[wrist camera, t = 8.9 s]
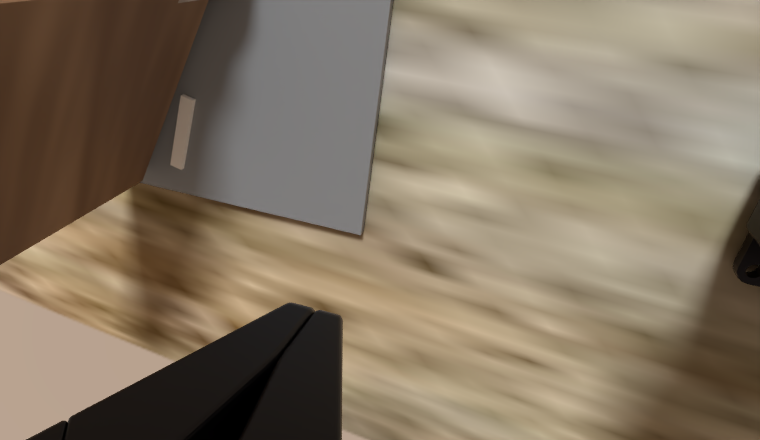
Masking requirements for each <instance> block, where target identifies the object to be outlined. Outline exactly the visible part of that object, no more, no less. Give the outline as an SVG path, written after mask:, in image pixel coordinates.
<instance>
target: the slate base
mask: <svg viewBox="0 0 760 440" xmlns="http://www.w3.org/2000/svg"><path fill="white" fill-rule="evenodd" d="M392 8H393V0H208V3H207V6H206V9H205V11H204V14H203V17H202V19H201V22H200V25H199V28H198V30H197V33H196V36H195V39H194V41H193V44H192V47H191V50H190V52H189V55H188V58H187V61H186V63H185V66H184V69H183V71H182V74H181V77H180V80H179V82H178V85H177V88H176V91H175V93H174V96H173V99H172V102H171V104H170V107H169V110H168V113H167V115H166V118H165V121H164V124H163V126H162V129H161V132H160V134H159V137H158V140H157V143H156V145H155V148H154V151H153V154H152V156H151V159H150V162H149V165H148V167H147V170H146V173H145V176H144V178H143V181H141V182H140V183H144V184H148V185H152V186H156V187H160V188H165V189H169V190H173V191H177V192H181V193H186V194H190V195H194V196H198V197H202V198H207V199H211V200H215V201H219V202H223V203H228V204H232V205H236V206H240V207H244V208H249V209H253V210H257V211H261V212H265V213H270V214H274V215H278V216H282V217H286V218H290V219H295V220H299V221H303V222H307V223H311V224H316V225H320V226H324V227H328V228H332V229H337V230H341V231H345V232H349V233H353V234H358V235H361V234H362V232H363V231H364V223H365V216H366V208H367V200H368V193H369V185H370V177H371V170H372V162H373V154H374V146H375V139H376V131H377V123H378V116H379V108H380V100H381V92H382V85H383V77H384V69H385V62H386V54H387V46H388V38H389V31H390V23H391V15H392Z"/></svg>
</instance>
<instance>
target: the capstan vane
mask: <svg viewBox="0 0 760 440" xmlns="http://www.w3.org/2000/svg"><path fill="white" fill-rule="evenodd" d="M207 3H208V0H0V265H1V264H2V263H4V262H6V261H7V260H9V259H11V258H13V257H14V256H16V255H18V254H19V253H21V252H23V251H24V250H26V249H28V248H29V247H31V246H33V245H35V244H36V243H38V242H40V241H41V240H43V239H45V238H46V237H48V236H50V235H52V234H53V233H55V232H57V231H58V230H60V229H62V228H63V227H65V226H67V225H68V224H70V223H72V222H74V221H75V220H77V219H79V218H80V217H82V216H84V215H85V214H87V213H89V212H90V211H92V210H94V209H96V208H97V207H99V206H101V205H102V204H104V203H106V202H107V201H109V200H111V199H113V198H114V197H116V196H118V195H119V194H121V193H123V192H124V191H126V190H128V189H129V188H131V187H133V186H135V185H136V184H138V183H140V182H141V181H143V178H144V176H145V173H146V170H147V167H148V165H149V162H150V159H151V156H152V154H153V151H154V148H155V145H156V143H157V140H158V137H159V134H160V132H161V129H162V126H163V124H164V121H165V118H166V115H167V113H168V110H169V107H170V104H171V102H172V99H173V96H174V93H175V91H176V88H177V85H178V82H179V80H180V77H181V74H182V71H183V69H184V66H185V63H186V61H187V58H188V55H189V52H190V50H191V47H192V44H193V41H194V39H195V36H196V33H197V30H198V28H199V25H200V22H201V19H202V17H203V14H204V11H205V9H206V6H207Z"/></svg>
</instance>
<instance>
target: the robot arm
mask: <svg viewBox="0 0 760 440" xmlns="http://www.w3.org/2000/svg"><path fill="white" fill-rule="evenodd" d="M747 228H748V230H749V234H748V236H747V238H746V240H745V241H744V243H743V245H742V247H741V249H740V251H739V253H738V255H737V257H736V259H735V261H734V263H733V270H734V272H735V274H736V275H737V277H738V278H739V279H740V280H741V281H742V282H744V283H747V284H750V285H755V286H759V287H760V200H759V202H758V204H757V206H756V208H755V210H754V211H753V213H752V215H751V217H750V219H749V221H748V223H747ZM751 265H759V266H758V268H757V269H756V270H754V271H752V272H746V269H747V268H748V267H749V266H751ZM342 339H343V320H342V317H341V316H340V315H337V314H334V313H330V312H326V311H322V310H318V311H314V309H313V308H311V307H307V306H303V305H300V304H296V303H287V304H285V305H283V306H281V307H279V308H277V309H275V310H273V311H271V312H269V313H268V314H266V315H264V316H262V317H260V318H258V319H256V320H254V321H252V322H250V323H248V324H247V325H245V326H243V327H241V328H239V329H237V330H235V331H233V332H231V333H229V334H227V335H226V336H224V337H222V338H220V339H218V340H216V341H214V342H212V343H210V344H208V345H206V346H205V347H203V348H201V349H199V350H197V351H195V352H193V353H191V354H189V355H187V356H185V357H184V358H182V359H180V360H178V361H176V362H174V363H172V364H170V365H168V366H166V367H165V368H163V369H161V370H159V371H157V372H155V373H153V374H151V375H149V376H147V377H145V378H143V379H142V380H140V381H138V382H136V383H134V384H132V385H130V386H129V387H126V388H125V389H123V390H121V391H119V392H117V393H115V394H113V395H111V396H109V397H107V398H105V399H103V400H102V401H100V402H98V403H96V404H94V405H92V406H90V407H88V408H86V409H85V410H82V411H81V412H79V413H77V414H75V415H73V416H71V417H70V418H69V421H68V422H66V421H61V422H59V423H57V424H56V425H53V426H51V427H50V428H48V429H46V430H44V431H42V432H40V433H38V434H36V435H34V436H32V437H30V438H29V439H26V440H342Z"/></svg>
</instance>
